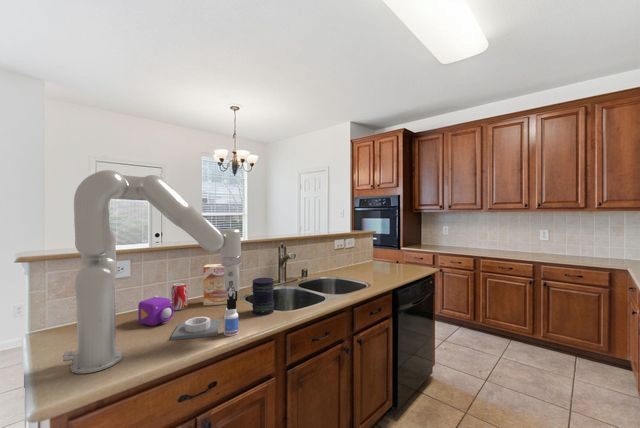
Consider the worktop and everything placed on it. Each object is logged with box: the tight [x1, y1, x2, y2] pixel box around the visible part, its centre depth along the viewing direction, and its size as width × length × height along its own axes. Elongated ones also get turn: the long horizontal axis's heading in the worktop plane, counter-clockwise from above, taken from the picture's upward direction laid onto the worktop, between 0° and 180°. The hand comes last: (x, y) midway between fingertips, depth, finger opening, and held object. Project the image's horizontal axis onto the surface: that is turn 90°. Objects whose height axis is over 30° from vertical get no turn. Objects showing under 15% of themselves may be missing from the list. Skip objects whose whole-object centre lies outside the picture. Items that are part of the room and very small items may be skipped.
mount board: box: [170, 316, 222, 341], centre depth 115 cm, size 16×14×4 cm
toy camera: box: [137, 295, 175, 327], centre depth 123 cm, size 11×14×10 cm
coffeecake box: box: [203, 263, 227, 306], centre depth 149 cm, size 15×7×20 cm, turn 102°
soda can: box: [170, 281, 189, 311], centre depth 140 cm, size 7×7×12 cm
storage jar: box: [251, 277, 275, 317], centre depth 135 cm, size 10×10×15 cm
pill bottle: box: [223, 307, 239, 337], centre depth 112 cm, size 6×5×10 cm
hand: (232, 304), depth 112 cm, fingers open, 9 cm apart
